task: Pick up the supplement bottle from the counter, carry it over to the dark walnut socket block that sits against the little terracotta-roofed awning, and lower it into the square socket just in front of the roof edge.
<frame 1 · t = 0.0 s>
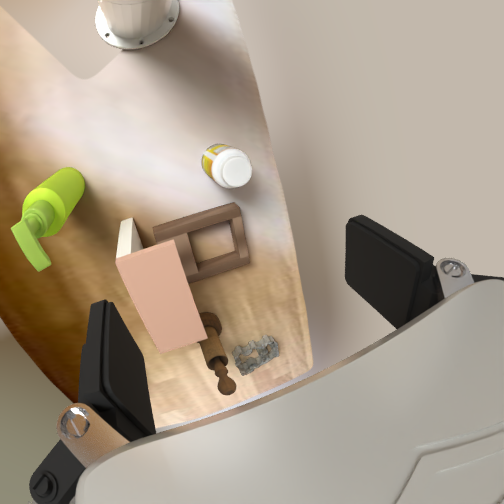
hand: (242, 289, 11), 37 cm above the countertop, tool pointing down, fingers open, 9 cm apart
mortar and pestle: (203, 324, 58), on the countertop
egg carton: (252, 348, 67), on the countertop
supplement bottle: (217, 160, 45), on the countertop
soap dispenser: (69, 188, 38), on the countertop
awning: (160, 277, 42), on the countertop
socket block: (210, 238, 50), on the countertop
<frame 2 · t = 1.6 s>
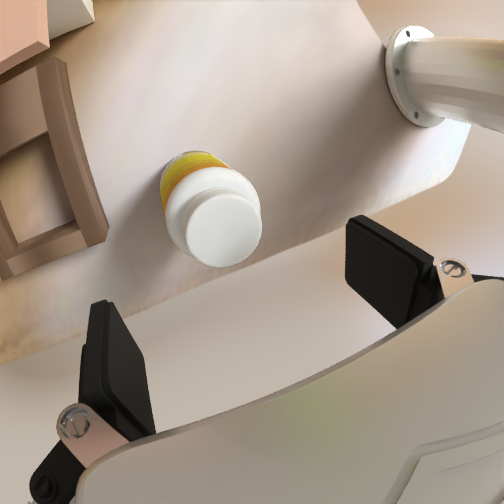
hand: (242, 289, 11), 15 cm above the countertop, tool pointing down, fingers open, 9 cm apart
supplement bottle: (193, 182, 23), on the countertop
socket block: (34, 189, 18), on the countertop
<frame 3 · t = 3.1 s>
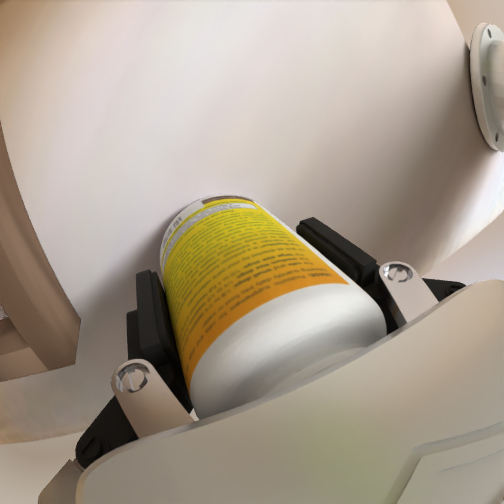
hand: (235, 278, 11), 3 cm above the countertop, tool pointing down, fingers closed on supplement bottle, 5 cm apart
supplement bottle: (218, 247, 14), on the countertop, touching gripper
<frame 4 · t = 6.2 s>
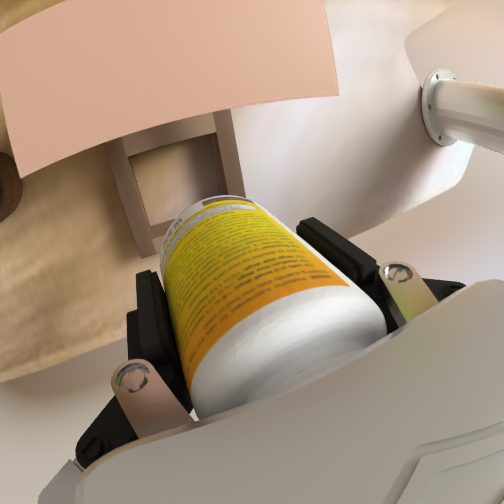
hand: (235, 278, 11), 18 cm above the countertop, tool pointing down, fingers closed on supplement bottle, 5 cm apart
supplement bottle: (218, 248, 14), point 15 cm above the countertop, touching gripper
awning: (160, 66, 15), on the countertop
socket block: (177, 178, 26), on the countertop
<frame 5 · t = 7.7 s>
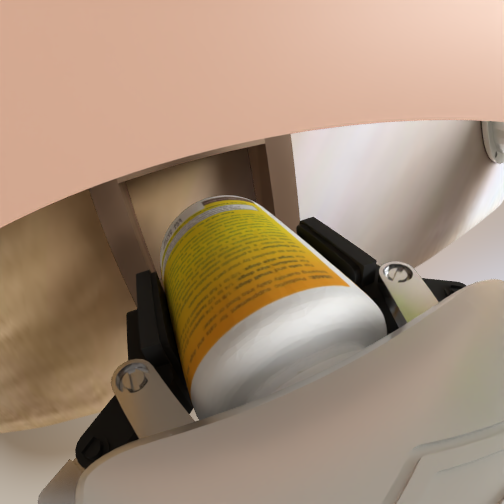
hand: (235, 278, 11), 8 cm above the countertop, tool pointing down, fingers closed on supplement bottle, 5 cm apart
supplement bottle: (218, 248, 14), point 5 cm above the countertop, touching gripper
awning: (180, 19, 7), on the countertop
socket block: (198, 211, 18), on the countertop
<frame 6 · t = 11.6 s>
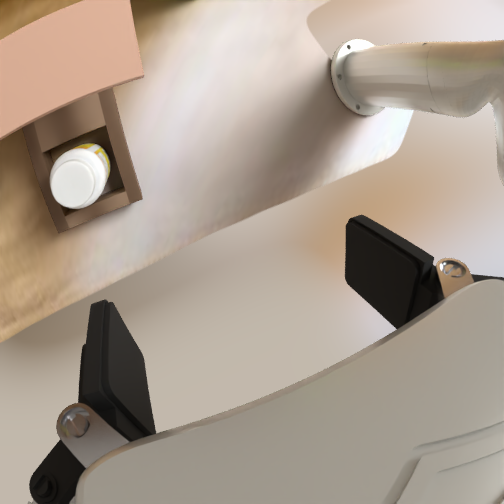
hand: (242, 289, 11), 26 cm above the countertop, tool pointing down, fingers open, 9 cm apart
supplement bottle: (89, 166, 28), resting in socket block
awning: (50, 82, 17), on the countertop
socket block: (86, 167, 28), on the countertop
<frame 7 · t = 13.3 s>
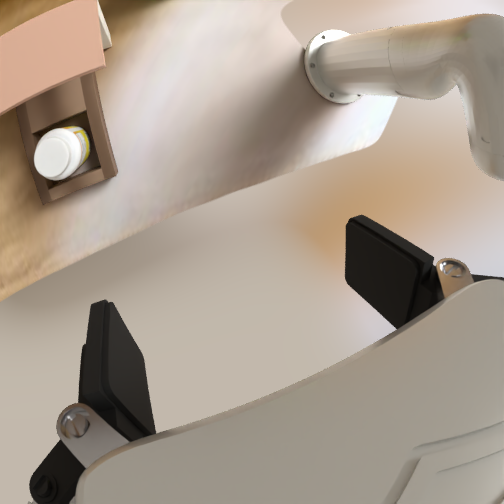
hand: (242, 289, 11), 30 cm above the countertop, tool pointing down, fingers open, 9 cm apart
supplement bottle: (73, 146, 30), resting in socket block
awning: (38, 73, 19), on the countertop
socket block: (70, 147, 30), on the countertop
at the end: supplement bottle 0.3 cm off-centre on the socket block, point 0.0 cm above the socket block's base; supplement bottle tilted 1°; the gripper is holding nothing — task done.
